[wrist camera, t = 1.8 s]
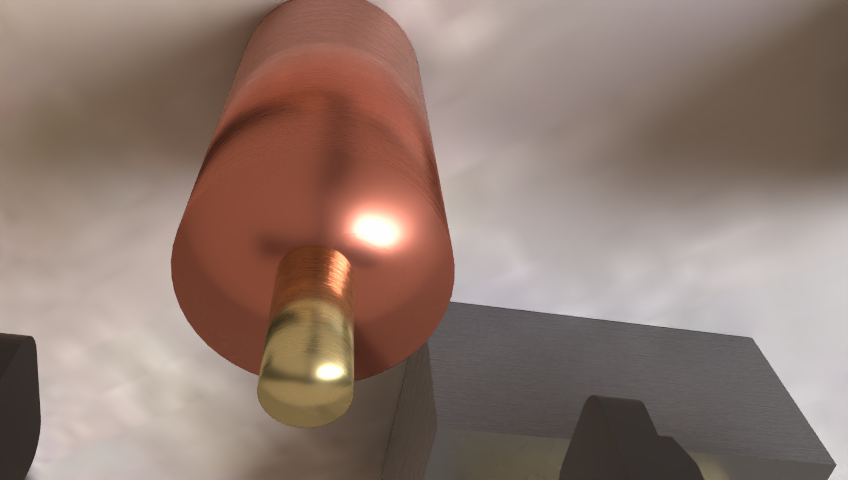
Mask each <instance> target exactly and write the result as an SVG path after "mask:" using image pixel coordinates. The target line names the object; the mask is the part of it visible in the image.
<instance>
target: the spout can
mask: <svg viewBox="0 0 848 480" xmlns="http://www.w3.org/2000/svg"><path fill="white" fill-rule="evenodd" d="M454 266H455V265H454V258H453V251H452V245H451V240H450V234H449V229H448V224H447V218H446V213H445V207H444V202H443V197H442V191H441V186H440V180H439V175H438V170H437V164H436V159H435V153H434V148H433V143H432V137H431V132H430V126H429V121H428V116H427V110H426V105H425V100H424V94H423V89H422V83H421V78H420V73H419V67H418V62H417V59H416V55H415V52H414V49H413V47H412V45H411V43H410V41H409V39H408V37H407V36H406V34H405V32H404V31H403V30H402V29H401V27H400V26H399V25H398V24H397V22H396V21H395V20H394V19H392V18H391V17H390V16H389V15H388V14H387V13H386V12H384V11H383V10H382V9H380V8H379V7H377V6H375V5H373V4H372V3H370V2H368V1H366V0H290V1H288V2H286V3H284V4H282V5H281V6H279V7H278V8H276V9H275V10H273V11H272V12H271V13H270V14H269V15H268V16H266V17H265V18H264V20H263V21H262V22H261V23H260V24H259V25H258V27H257V28H256V30H255V31H254V33H253V34H252V36H251V38H250V40H249V42H248V44H247V47H246V50H245V52H244V55H243V58H242V60H241V63H240V65H239V68H238V71H237V73H236V76H235V79H234V81H233V84H232V87H231V89H230V92H229V95H228V97H227V100H226V103H225V105H224V108H223V111H222V113H221V116H220V119H219V121H218V124H217V127H216V129H215V132H214V135H213V137H212V140H211V143H210V145H209V148H208V151H207V153H206V156H205V159H204V161H203V164H202V166H201V169H200V172H199V174H198V177H197V180H196V182H195V185H194V188H193V190H192V193H191V196H190V198H189V201H188V204H187V206H186V209H185V212H184V214H183V217H182V220H181V222H180V225H179V228H178V230H177V234H176V237H175V241H174V244H173V250H172V258H171V272H172V281H173V286H174V291H175V294H176V297H177V300H178V302H179V305H180V308H181V309H182V311H183V313H184V315H185V317H186V319H187V321H188V322H189V323H190V325H191V326H192V327H193V329H194V330H195V332H196V333H197V334H198V335H199V336H200V337H201V338H202V339H203V340H204V341H205V342H206V344H207V345H208V346H210V347H211V348H212V349H213V350H215V351H216V352H217V353H218V354H219V355H221V356H222V357H224V358H225V359H227V360H228V361H230V362H231V363H233V364H235V365H237V366H239V367H241V368H243V369H245V370H247V371H249V372H251V373H254V374H256V375H259V381H258V388H257V394H258V399H259V402H260V404H261V406H262V407H263V409H264V410H265V411H266V412H267V413H268V414H269V415H270V416H271V417H272V418H274V419H276V420H277V421H279V422H281V423H284V424H286V425H290V426H294V427H302V428H310V427H318V426H322V425H326V424H328V423H331V422H333V421H335V420H336V419H338V418H339V417H341V416H342V415H343V414H344V413H345V412H346V411H347V409H348V408H349V406H350V404H351V402H352V399H353V393H354V381H357V380H361V379H365V378H368V377H370V376H373V375H376V374H378V373H381V372H383V371H385V370H387V369H389V368H391V367H393V366H395V365H397V364H398V363H400V362H401V361H403V360H404V359H406V358H407V357H409V356H410V355H411V354H412V353H414V352H415V351H416V350H417V349H418V348H420V347H421V346H422V345H423V344H424V343H425V341H426V340H427V339H428V338H429V337H430V336H431V335H432V333H433V332H434V331H435V329H436V328H437V326H438V325H439V323H440V322H441V320H442V318H443V316H444V314H445V312H446V310H447V307H448V304H449V302H450V299H451V296H452V290H453V285H454Z"/></svg>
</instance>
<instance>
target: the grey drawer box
mask: <svg viewBox="0 0 848 480" xmlns="http://www.w3.org/2000/svg"><path fill="white" fill-rule="evenodd" d="M591 395H599V396H609V397H619V398H629V399H638V400H640V401H642V402H643V404H644V405H645V407H646V409H647V411H648V413H649V416H650V418H651V420H652V422H653V424H654V427H655V429H656V431H657V433H658V435H659V436H669V437H673V439H674V440H675V441H676V442H677V443H678V444H679V445H680V446H681V447H682V448H683V449H684V450H685V451H686V452H687V453H688V454H689V455H690V457H691V458H692V459H693V460H694V461H695V462H696V463H697V465H698V467H699V469H700V471H701V473H702V475H703V477H704V479H705V480H827V479H828V478H829V476H830V475H831V473H832V471H833V470H834V468H835V467H836V463H835V462H834V460H833V459H832V457H831V456H830V454H829V453H828V451H827V450H826V448H825V447H824V445H823V444H822V442H821V441H820V439H819V438H818V436H817V435H816V433H815V432H814V430H813V429H812V427H811V426H810V424H809V423H808V421H807V420H806V418H805V417H804V415H803V414H802V412H801V411H800V409H799V408H798V406H797V405H796V403H795V402H794V400H793V399H792V397H791V396H790V394H789V393H788V391H787V390H786V388H785V387H784V385H783V384H782V382H781V381H780V379H779V378H778V376H777V375H776V373H775V372H774V370H773V369H772V367H771V366H770V364H769V363H768V361H767V360H766V358H765V357H764V355H763V354H762V352H761V351H760V349H759V348H758V346H757V345H756V343H755V342H754V340H753V339H752V338H747V337H738V336H730V335H721V334H713V333H705V332H696V331H688V330H680V329H671V328H663V327H655V326H646V325H638V324H629V323H621V322H613V321H604V320H596V319H588V318H579V317H571V316H563V315H554V314H546V313H537V312H529V311H521V310H512V309H504V308H496V307H487V306H479V305H471V304H462V303H454V302H449V304H448V307H447V310H446V312H445V314H444V316H443V318H442V320H441V322H440V323H439V325H438V326H437V328H436V329H435V331H434V332H433V333H432V335H431V336H430V337H429V338H428V339H427V340H426V341H425V343H424V344H423V345H422V346H421V347H420V348H418V349H417V350H416V351H415V352H414V353H412V354H411V355H410V356H409V360H408V364H407V369H406V373H405V377H404V382H403V386H402V390H401V394H400V399H399V403H398V407H397V411H396V416H395V420H394V424H393V428H392V433H391V437H390V441H389V446H388V450H387V454H386V458H385V463H384V467H383V471H382V475H381V480H559V475H560V470H561V466H562V463H563V460H564V458H565V455H566V452H567V449H568V447H569V444H570V441H571V439H572V436H573V433H574V430H575V428H576V425H577V422H578V420H579V417H580V414H581V411H582V409H583V406H584V404H585V402H586V400H587V399H588V397H589V396H591Z"/></svg>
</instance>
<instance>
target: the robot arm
mask: <svg viewBox="0 0 848 480" xmlns="http://www.w3.org/2000/svg"><path fill="white" fill-rule="evenodd" d="M40 425H41V415H40V398H39V382H38V365H37V350H36V343H35V340H34V338H33V337H32V336H25V335H16V334H6V333H0V480H24V479H25V477H26V475H27V473H28V471H29V469H30V467H31V464H32V462H33V459H34V456H35V453H36V449H37V445H38V440H39V435H40ZM559 480H705V479H704V477H703V475H702V473H701V471H700V469H699V467H698V465H697V463H696V462H695V461H694V460H693V459H692V458H691V457H690V455H689V454H688V453H687V452H686V451H685V450H684V449H683V448H682V447H681V446H680V445H679V444H678V443H677V442H676V441H675V440H674V439H673V437H669V436H659V435H658V433H657V431H656V429H655V427H654V424H653V422H652V420H651V418H650V416H649V413H648V411H647V409H646V407H645V405H644V404H643V402H642V401H640V400H638V399H629V398H619V397H609V396H599V395H591V396H589V397H588V399H587V400H586V402H585V404H584V406H583V409H582V411H581V414H580V417H579V420H578V422H577V425H576V428H575V430H574V433H573V436H572V439H571V441H570V444H569V447H568V449H567V452H566V455H565V458H564V460H563V463H562V466H561V470H560V475H559Z"/></svg>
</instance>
